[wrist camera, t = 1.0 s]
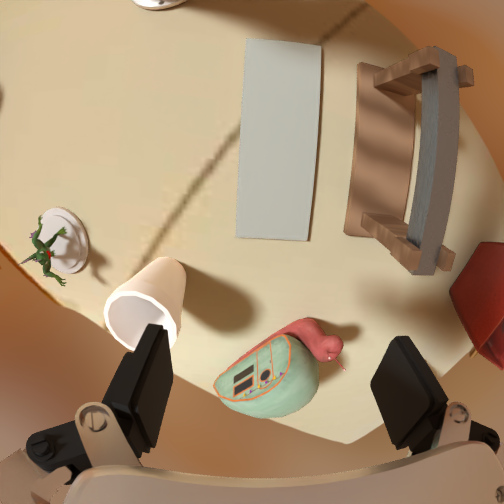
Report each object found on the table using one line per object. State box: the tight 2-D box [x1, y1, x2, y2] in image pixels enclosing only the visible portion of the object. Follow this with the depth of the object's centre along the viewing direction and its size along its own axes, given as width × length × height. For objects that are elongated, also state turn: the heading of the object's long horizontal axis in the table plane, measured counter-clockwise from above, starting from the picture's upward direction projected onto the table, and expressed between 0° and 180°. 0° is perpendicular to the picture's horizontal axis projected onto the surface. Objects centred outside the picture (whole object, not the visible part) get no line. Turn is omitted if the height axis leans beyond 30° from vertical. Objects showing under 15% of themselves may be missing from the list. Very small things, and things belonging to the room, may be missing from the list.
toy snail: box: [213, 318, 346, 418], centre depth 40 cm, size 25×8×14 cm, turn 135°
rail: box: [400, 46, 459, 275], centre depth 21 cm, size 24×3×3 cm, turn 177°
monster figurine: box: [20, 207, 89, 286], centre depth 34 cm, size 12×12×10 cm
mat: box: [236, 38, 321, 241], centre depth 33 cm, size 28×10×1 cm, turn 177°
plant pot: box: [449, 242, 504, 370], centre depth 34 cm, size 19×19×17 cm
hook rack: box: [343, 46, 474, 271], centre depth 26 cm, size 25×9×16 cm, turn 177°
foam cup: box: [103, 257, 186, 351], centre depth 35 cm, size 10×9×13 cm
